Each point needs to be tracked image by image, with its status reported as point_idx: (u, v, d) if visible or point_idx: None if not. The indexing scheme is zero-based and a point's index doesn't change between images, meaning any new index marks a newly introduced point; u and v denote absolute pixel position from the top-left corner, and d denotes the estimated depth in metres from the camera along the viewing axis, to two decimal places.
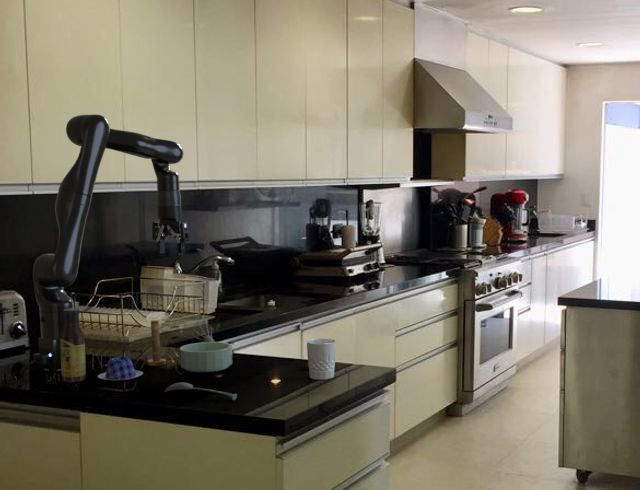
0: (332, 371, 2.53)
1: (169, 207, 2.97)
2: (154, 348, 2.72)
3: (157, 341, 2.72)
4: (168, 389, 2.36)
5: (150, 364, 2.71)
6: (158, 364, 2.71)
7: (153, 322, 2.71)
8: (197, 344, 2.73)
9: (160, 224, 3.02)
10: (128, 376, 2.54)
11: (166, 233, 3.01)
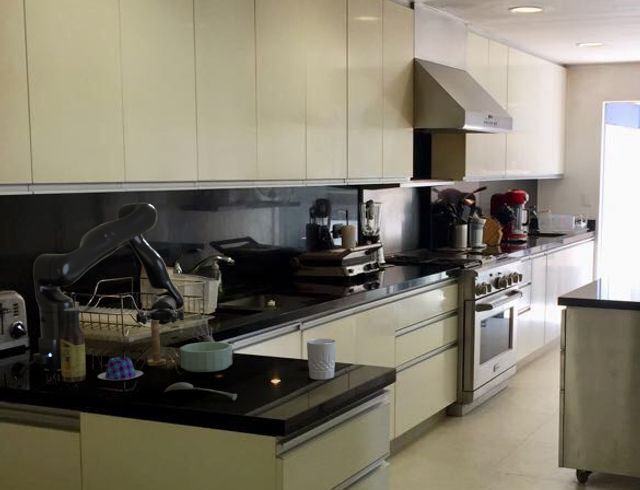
0: (332, 371, 2.53)
1: (171, 302, 2.98)
2: (154, 348, 2.72)
3: (157, 341, 2.72)
4: (168, 389, 2.36)
5: (150, 364, 2.71)
6: (158, 364, 2.71)
7: (153, 322, 2.71)
8: (197, 344, 2.73)
9: None
10: (128, 376, 2.54)
11: (158, 312, 2.89)
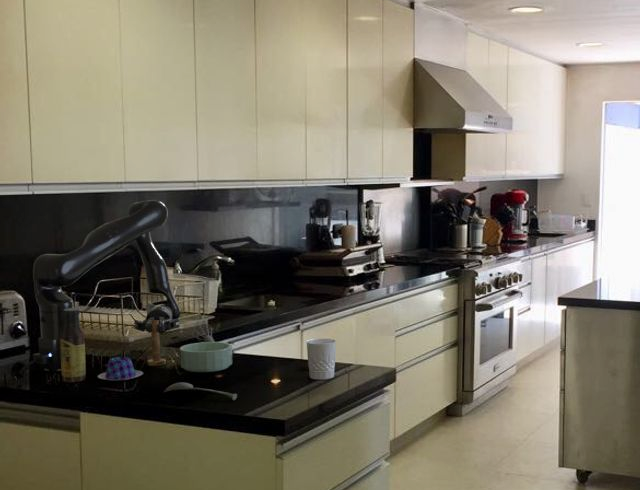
0: (332, 371, 2.53)
1: (167, 311, 2.85)
2: (154, 348, 2.72)
3: (157, 341, 2.72)
4: (168, 389, 2.36)
5: (150, 364, 2.71)
6: (158, 364, 2.71)
7: (153, 322, 2.71)
8: (197, 344, 2.73)
9: (146, 319, 2.79)
10: (128, 376, 2.54)
11: None
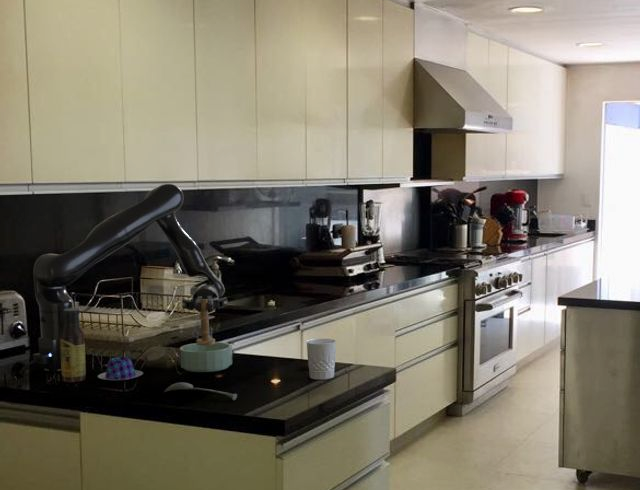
0: (332, 371, 2.53)
1: (214, 290, 2.80)
2: (203, 327, 2.66)
3: (206, 320, 2.66)
4: (168, 389, 2.36)
5: (199, 344, 2.66)
6: (207, 343, 2.66)
7: (202, 301, 2.65)
8: None
9: (193, 298, 2.73)
10: (128, 376, 2.54)
11: None
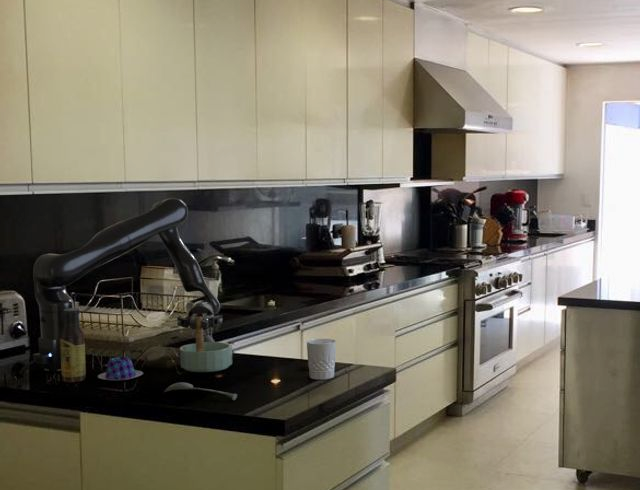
0: (332, 371, 2.53)
1: (209, 307, 2.81)
2: (198, 345, 2.67)
3: (201, 338, 2.67)
4: (168, 389, 2.36)
5: None
6: None
7: (197, 318, 2.66)
8: None
9: (188, 316, 2.74)
10: (128, 376, 2.54)
11: None
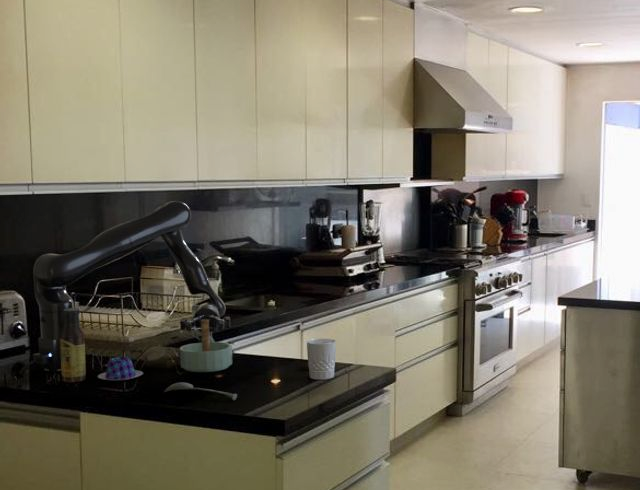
0: (332, 371, 2.53)
1: (215, 310, 2.80)
2: (204, 348, 2.67)
3: (207, 341, 2.67)
4: (168, 389, 2.36)
5: None
6: None
7: (203, 321, 2.66)
8: (197, 344, 2.73)
9: None
10: (128, 376, 2.54)
11: (203, 319, 2.72)
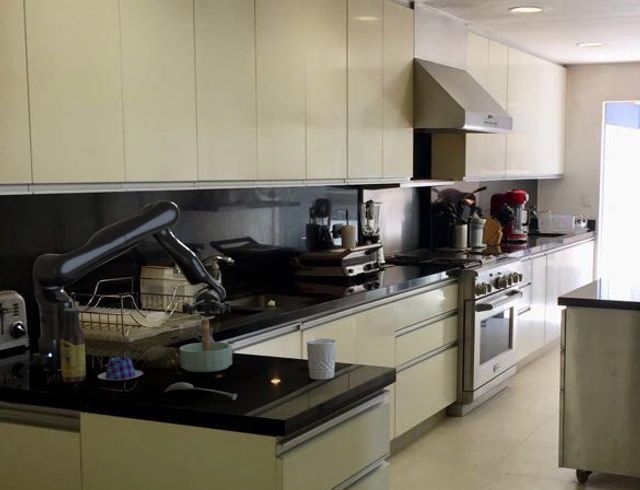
0: (332, 371, 2.53)
1: (216, 295, 2.93)
2: (204, 348, 2.67)
3: (207, 341, 2.67)
4: (168, 389, 2.36)
5: None
6: None
7: (203, 321, 2.66)
8: (197, 344, 2.73)
9: None
10: (128, 376, 2.54)
11: (204, 304, 2.84)
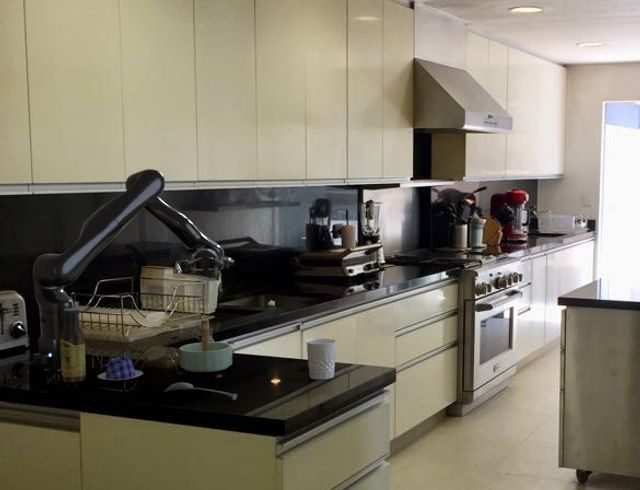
0: (332, 371, 2.53)
1: (214, 253, 2.91)
2: (204, 348, 2.67)
3: (207, 341, 2.67)
4: (168, 389, 2.36)
5: None
6: None
7: (203, 321, 2.66)
8: (197, 344, 2.73)
9: None
10: (128, 376, 2.54)
11: (202, 261, 2.82)
